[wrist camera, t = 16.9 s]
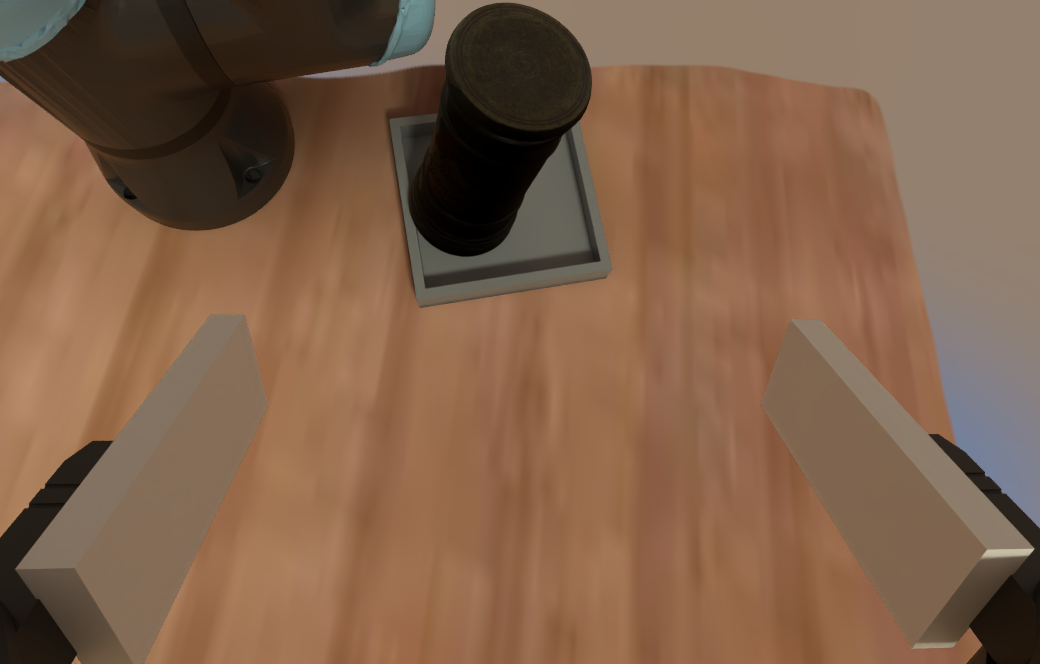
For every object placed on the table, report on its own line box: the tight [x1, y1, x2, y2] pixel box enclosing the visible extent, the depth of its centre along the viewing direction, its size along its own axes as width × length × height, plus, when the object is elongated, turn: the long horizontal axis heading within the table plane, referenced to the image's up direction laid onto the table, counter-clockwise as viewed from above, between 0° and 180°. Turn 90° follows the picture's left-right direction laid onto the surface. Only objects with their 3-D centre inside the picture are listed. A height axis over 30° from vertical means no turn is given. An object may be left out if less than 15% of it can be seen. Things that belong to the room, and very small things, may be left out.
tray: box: [389, 113, 612, 308], centre depth 49 cm, size 16×16×2 cm
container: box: [408, 3, 592, 257], centre depth 40 cm, size 9×9×18 cm
